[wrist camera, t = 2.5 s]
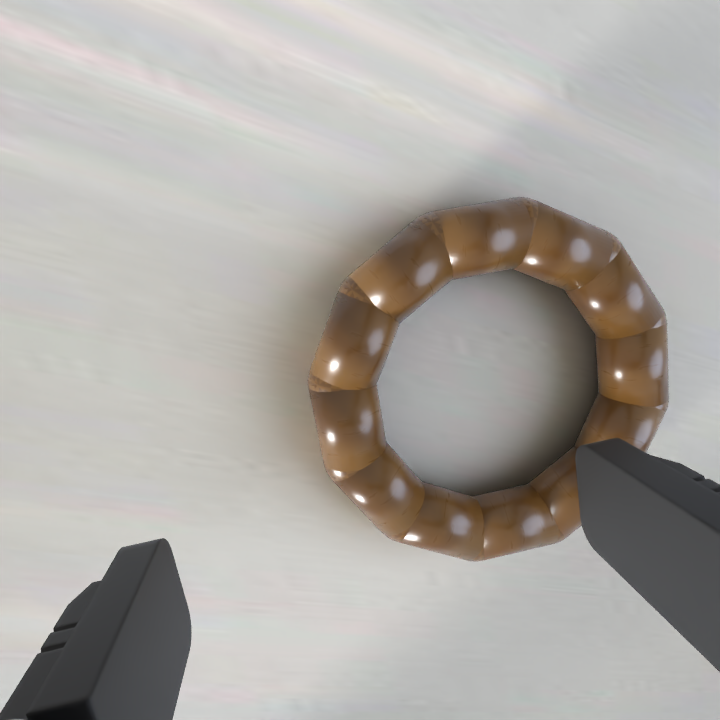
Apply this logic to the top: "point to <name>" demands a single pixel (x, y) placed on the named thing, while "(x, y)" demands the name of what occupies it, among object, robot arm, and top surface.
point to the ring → (414, 287)
